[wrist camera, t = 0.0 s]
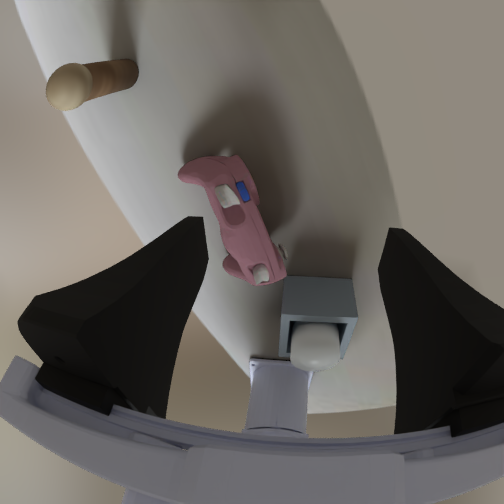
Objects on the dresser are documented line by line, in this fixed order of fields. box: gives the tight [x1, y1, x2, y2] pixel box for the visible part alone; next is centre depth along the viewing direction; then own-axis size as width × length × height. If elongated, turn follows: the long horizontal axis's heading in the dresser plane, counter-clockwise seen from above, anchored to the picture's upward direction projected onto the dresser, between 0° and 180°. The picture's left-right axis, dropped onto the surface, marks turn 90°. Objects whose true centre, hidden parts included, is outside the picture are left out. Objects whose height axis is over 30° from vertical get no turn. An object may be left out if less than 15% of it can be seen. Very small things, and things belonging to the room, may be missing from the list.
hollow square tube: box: [278, 275, 358, 359], centre depth 25 cm, size 6×6×4 cm
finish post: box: [46, 59, 138, 111], centre depth 13 cm, size 3×3×8 cm
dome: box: [290, 321, 340, 371], centre depth 23 cm, size 4×4×4 cm
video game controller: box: [178, 155, 288, 286], centre depth 20 cm, size 10×5×7 cm, turn 20°
